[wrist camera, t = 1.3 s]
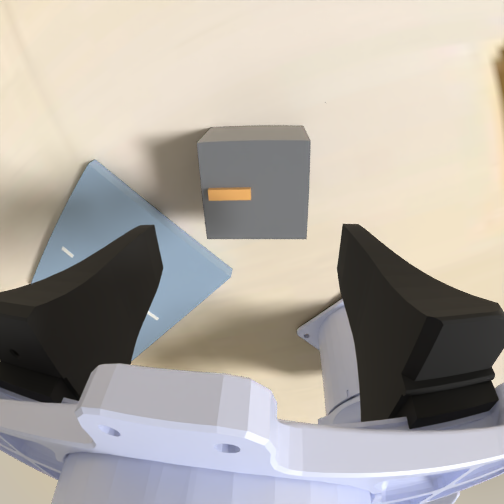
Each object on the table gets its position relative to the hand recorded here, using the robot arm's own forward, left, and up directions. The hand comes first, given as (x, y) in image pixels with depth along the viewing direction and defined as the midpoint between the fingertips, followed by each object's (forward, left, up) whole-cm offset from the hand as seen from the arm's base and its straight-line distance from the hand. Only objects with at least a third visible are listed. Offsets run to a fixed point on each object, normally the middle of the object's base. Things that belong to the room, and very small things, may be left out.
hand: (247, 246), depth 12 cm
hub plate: (+2, +15, -9) cm, 18 cm away
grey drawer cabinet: (0, 0, -9) cm, 9 cm away
